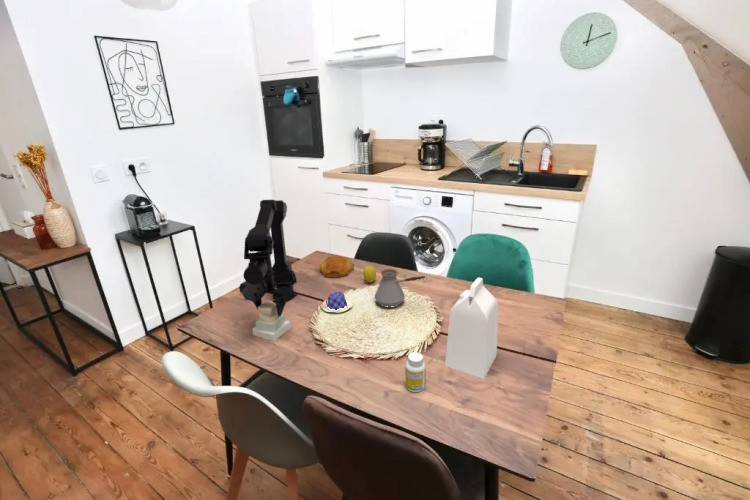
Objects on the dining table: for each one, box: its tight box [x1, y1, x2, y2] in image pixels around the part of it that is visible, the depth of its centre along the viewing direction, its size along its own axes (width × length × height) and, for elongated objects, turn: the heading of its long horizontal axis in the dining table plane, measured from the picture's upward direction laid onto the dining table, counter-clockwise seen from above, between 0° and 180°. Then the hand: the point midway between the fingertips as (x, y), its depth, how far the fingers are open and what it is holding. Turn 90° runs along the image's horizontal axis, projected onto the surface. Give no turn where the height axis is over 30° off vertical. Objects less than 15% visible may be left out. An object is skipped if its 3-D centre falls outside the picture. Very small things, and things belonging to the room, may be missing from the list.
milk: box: [444, 277, 499, 380], centre depth 109 cm, size 12×12×26 cm
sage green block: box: [255, 313, 286, 333], centre depth 130 cm, size 7×7×3 cm
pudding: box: [322, 291, 348, 310], centre depth 145 cm, size 12×12×5 cm
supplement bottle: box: [404, 351, 427, 393], centre depth 103 cm, size 5×5×10 cm
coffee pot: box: [374, 268, 428, 308], centre depth 142 cm, size 21×12×15 cm, turn 54°
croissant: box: [319, 255, 355, 279], centre depth 174 cm, size 14×16×8 cm
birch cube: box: [257, 299, 281, 323], centre depth 128 cm, size 5×5×5 cm
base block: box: [251, 319, 292, 342], centre depth 131 cm, size 9×9×3 cm
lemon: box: [362, 265, 377, 283], centre depth 163 cm, size 6×6×8 cm
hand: (269, 312), depth 129 cm, fingers open, 9 cm apart
